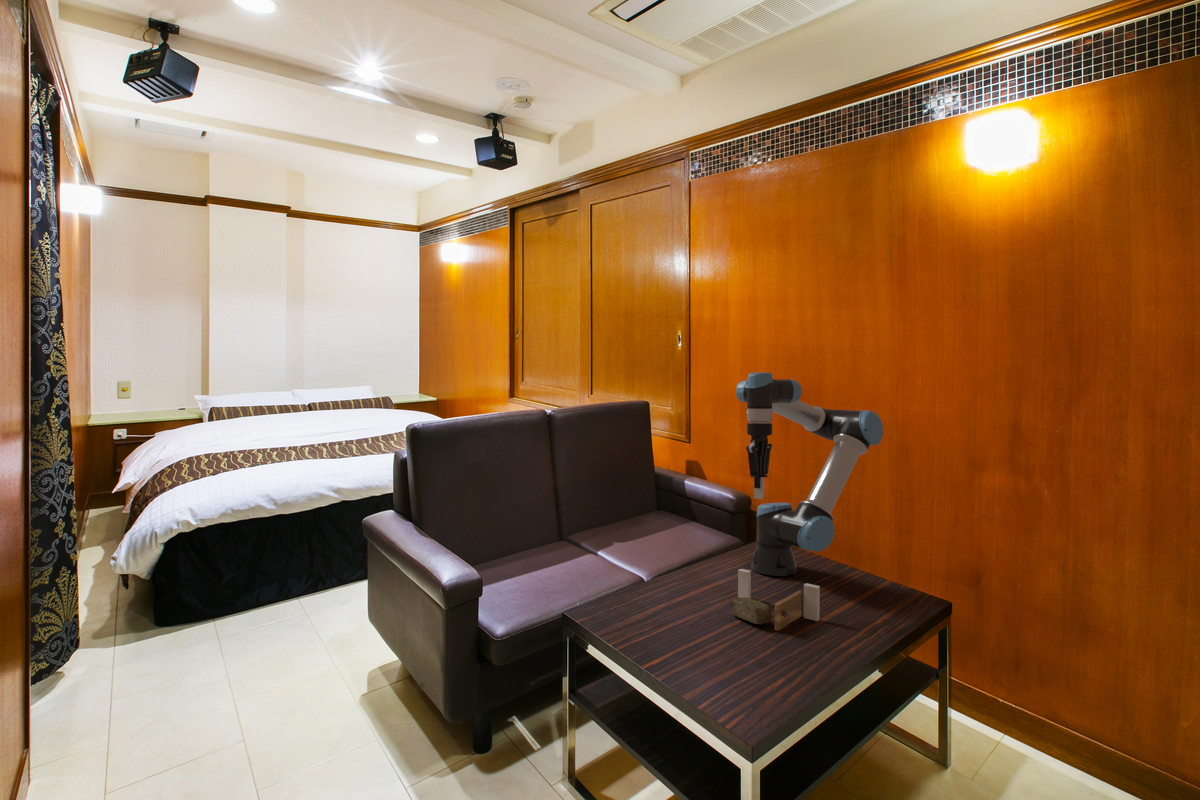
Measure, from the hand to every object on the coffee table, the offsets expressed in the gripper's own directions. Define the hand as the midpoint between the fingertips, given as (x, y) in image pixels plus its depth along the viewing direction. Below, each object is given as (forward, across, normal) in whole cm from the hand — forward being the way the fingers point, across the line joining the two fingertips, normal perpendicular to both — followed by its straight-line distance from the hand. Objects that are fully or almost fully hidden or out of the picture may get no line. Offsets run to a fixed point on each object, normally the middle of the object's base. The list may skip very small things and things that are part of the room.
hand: (759, 498), depth 181 cm
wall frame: (+32, +2, +6) cm, 33 cm away
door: (+32, +2, +14) cm, 35 cm away
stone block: (+33, +16, +8) cm, 38 cm away
